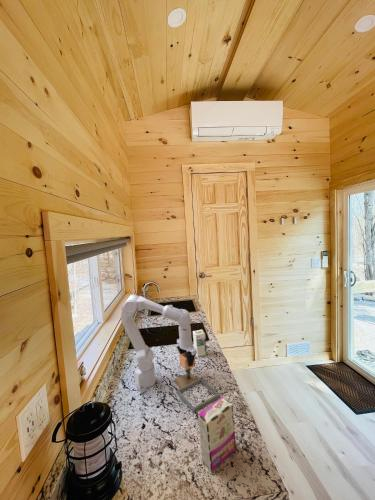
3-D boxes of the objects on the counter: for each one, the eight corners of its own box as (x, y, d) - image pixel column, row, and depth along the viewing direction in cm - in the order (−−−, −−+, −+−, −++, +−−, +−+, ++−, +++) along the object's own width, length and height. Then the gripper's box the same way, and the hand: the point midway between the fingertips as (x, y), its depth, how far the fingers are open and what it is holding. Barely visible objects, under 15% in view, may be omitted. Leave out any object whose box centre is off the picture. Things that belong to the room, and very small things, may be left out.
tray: (193, 415, 92) (193, 409, 92) (176, 395, 103) (176, 390, 103) (219, 399, 99) (219, 394, 99) (201, 382, 110) (201, 378, 110)
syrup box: (197, 359, 130) (195, 335, 129) (194, 354, 136) (192, 330, 134) (207, 357, 132) (205, 333, 130) (203, 352, 137) (201, 328, 136)
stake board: (180, 390, 106) (179, 379, 106) (172, 382, 112) (171, 371, 112) (198, 381, 111) (197, 370, 111) (190, 374, 117) (189, 363, 117)
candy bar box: (225, 439, 81) (222, 395, 79) (236, 450, 76) (233, 404, 75) (200, 460, 74) (197, 413, 72) (211, 473, 70) (207, 423, 68)
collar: (185, 370, 108) (184, 359, 108) (179, 364, 113) (179, 354, 112) (198, 364, 112) (197, 354, 111) (191, 359, 117) (191, 349, 116)
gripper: (200, 338, 107) (202, 366, 108) (184, 328, 119) (186, 353, 120) (188, 343, 103) (190, 372, 104) (172, 332, 115) (174, 358, 116)
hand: (187, 362), depth 112 cm, fingers closed on collar, 5 cm apart
